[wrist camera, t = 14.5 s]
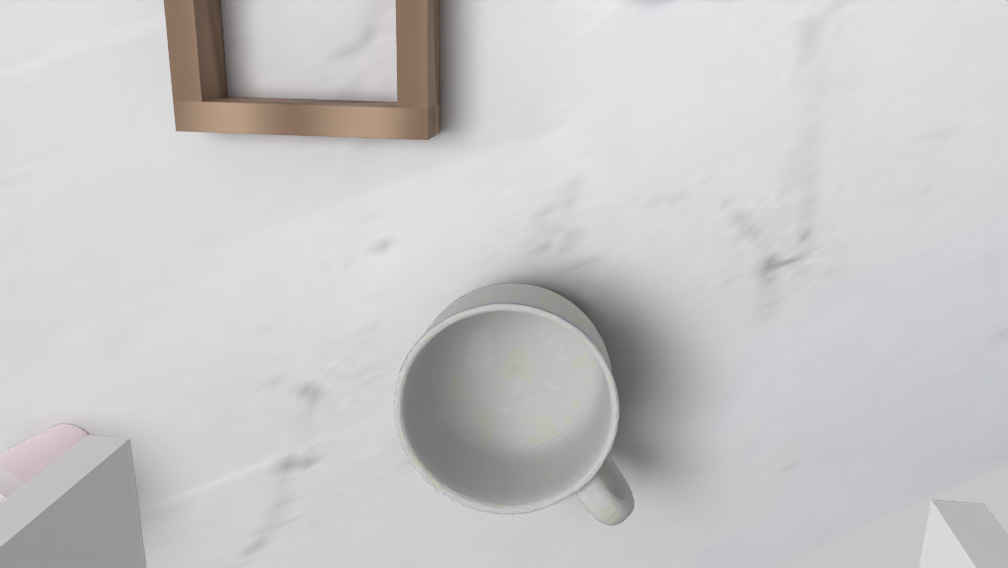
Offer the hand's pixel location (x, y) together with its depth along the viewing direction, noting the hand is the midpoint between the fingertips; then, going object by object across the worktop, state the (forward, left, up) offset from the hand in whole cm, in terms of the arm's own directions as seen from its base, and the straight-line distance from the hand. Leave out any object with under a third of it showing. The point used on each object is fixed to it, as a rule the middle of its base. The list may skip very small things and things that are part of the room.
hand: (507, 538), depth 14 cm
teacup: (+2, +11, -32) cm, 34 cm away
